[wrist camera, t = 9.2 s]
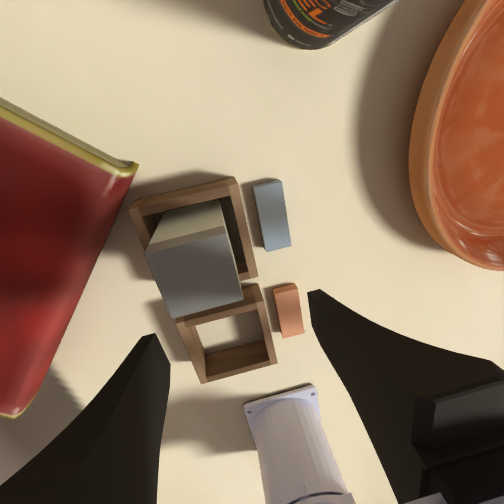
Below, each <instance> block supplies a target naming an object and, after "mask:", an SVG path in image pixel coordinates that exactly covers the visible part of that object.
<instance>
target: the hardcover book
mask: <svg viewBox="0 0 504 504" xmlns="http://www.w3.org/2000/svg"><path fill="white" fill-rule="evenodd" d="M138 166H139V164H137V163H135V162H132V164H131V165H130V166H128V165H126V164H124V163H123V162H121V161H119V160H117V159H115V158H113V157H111V156H109V155H107V154H106V153H104V152H102V151H100V150H98V149H96V148H94V147H92V146H91V145H89V144H87V143H85V142H83V141H81V140H79V139H77V138H76V137H74V136H72V135H70V134H68V133H66V132H64V131H62V130H61V129H59V128H57V127H55V126H53V125H51V124H49V123H47V122H46V121H44V120H42V119H40V118H38V117H36V116H34V115H32V114H31V113H29V112H27V111H25V110H23V109H21V108H19V107H17V106H16V105H14V104H12V103H10V102H8V101H6V100H4V99H2V98H1V97H0V417H6V418H11V419H15V418H16V417H18V416H19V415H21V414H22V413H23V412H24V410H25V409H26V408H27V407H28V406H29V405H30V403H31V402H32V401H33V399H34V398H35V396H36V394H37V392H38V391H39V389H40V387H41V385H42V382H43V380H44V378H45V376H46V373H47V371H48V369H49V367H50V364H51V362H52V360H53V358H54V355H55V353H56V351H57V349H58V346H59V344H60V342H61V340H62V337H63V335H64V333H65V331H66V328H67V326H68V324H69V322H70V319H71V317H72V315H73V313H74V311H75V308H76V306H77V304H78V302H79V299H80V297H81V295H82V293H83V290H84V288H85V286H86V284H87V281H88V279H89V277H90V275H91V272H92V270H93V268H94V266H95V263H96V261H97V259H98V257H99V254H100V252H101V250H102V248H103V245H104V243H105V241H106V239H107V236H108V234H109V232H110V230H111V227H112V225H113V223H114V221H115V218H116V216H117V214H118V212H119V209H120V207H121V205H122V203H123V200H124V198H125V196H126V194H127V191H128V189H129V187H130V185H131V182H132V180H133V178H134V176H135V173H136V171H137V169H138Z"/></svg>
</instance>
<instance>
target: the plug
mask: <svg viewBox="0 0 504 504" xmlns="http://www.w3.org/2000/svg"><path fill="white" fill-rule="evenodd" d="M144 256H145V259H146V261H147V263H148V265H149V268H150V270H151V272H152V275H153V277H154V279H155V281H156V284H157V286H158V288H159V291H160V293H161V295H162V297H163V300H164V302H165V304H166V307H167V309H168V311H169V313H170V316H171V318H172V319H174V318H178V317H181V316H185V315H189V314H192V313H196V312H200V311H204V310H207V309H211V308H215V307H218V306H222V305H226V304H230V303H233V302H237V301H241V300H244V298H243V294H242V289H241V285H240V280H239V276H238V271H237V267H236V262H235V258H234V253H233V249H232V245H231V241H230V238H229V234H228V230H227V226H226V223H225V219H224V215H223V212H222V208H221V204H220V200H219V199H218V200H214V201H210V202H206V203H202V204H198V205H194V206H190V207H186V208H182V209H178V210H174V211H170V212H166V213H164V214H163V216H162V218H161V220H160V222H159V224H158V227H157V229H156V231H155V233H154V235H153V237H152V239H151V241H150V243H149V245H148V247H147V249H146V251H145V253H144Z"/></svg>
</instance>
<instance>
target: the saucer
mask: <svg viewBox="0 0 504 504" xmlns="http://www.w3.org/2000/svg"><path fill="white" fill-rule="evenodd" d="M409 180H410V188H411V194H412V198H413V202H414V205H415V209H416V211H417V214H418V216H419V218H420V220H421V222H422V224H423V226H424V228H425V229H426V230H427V232H428V233H429V234H430V236H431V237H432V238H433V239H434V240H435V241H436V242H437V243H438V244H439V245H440V246H442V247H443V248H444V249H445V250H447V251H448V252H450V253H452V254H454V255H455V256H457V257H459V258H461V259H463V260H464V261H466V262H468V263H471V264H473V265H475V266H478V267H481V268H485V269H489V270H495V271H504V0H465V1H464V3H463V4H462V6H461V8H460V9H459V11H458V12H457V14H456V15H455V17H454V19H453V21H452V22H451V24H450V26H449V27H448V29H447V31H446V33H445V35H444V37H443V39H442V41H441V43H440V45H439V47H438V49H437V51H436V53H435V55H434V58H433V60H432V62H431V65H430V67H429V70H428V72H427V75H426V78H425V80H424V83H423V86H422V89H421V92H420V96H419V99H418V102H417V106H416V110H415V115H414V119H413V125H412V130H411V137H410V146H409Z"/></svg>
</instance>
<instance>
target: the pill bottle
mask: <svg viewBox="0 0 504 504" xmlns="http://www.w3.org/2000/svg"><path fill="white" fill-rule="evenodd" d="M263 1H264V6H265V9H266V12H267V14H268V17H269V19H270V22H271V24H272V26H273V27H274V28H275V30H276V31H277V32H278V34H279V35H280V36H281V37H282V38H283V39H284V40H285V41H287V42H288V43H290V44H292V45H294V46H296V47H299V48H301V49H307V50H317V49H321V48H324V47H327V46H329V45H331V44H333V43H335V42H336V41H338V40H339V39H341V38H342V37H344V36H345V35H347V34H348V33H350V32H352V31H353V30H355V29H356V28H358V27H359V26H361V25H362V24H364V23H366V22H367V21H369V20H370V19H372V18H373V17H375V16H376V15H378V14H380V13H381V12H383V11H384V10H386V9H387V8H389V7H390V6H392V5H393V4H395V3H397V2H398V1H400V0H263Z"/></svg>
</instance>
